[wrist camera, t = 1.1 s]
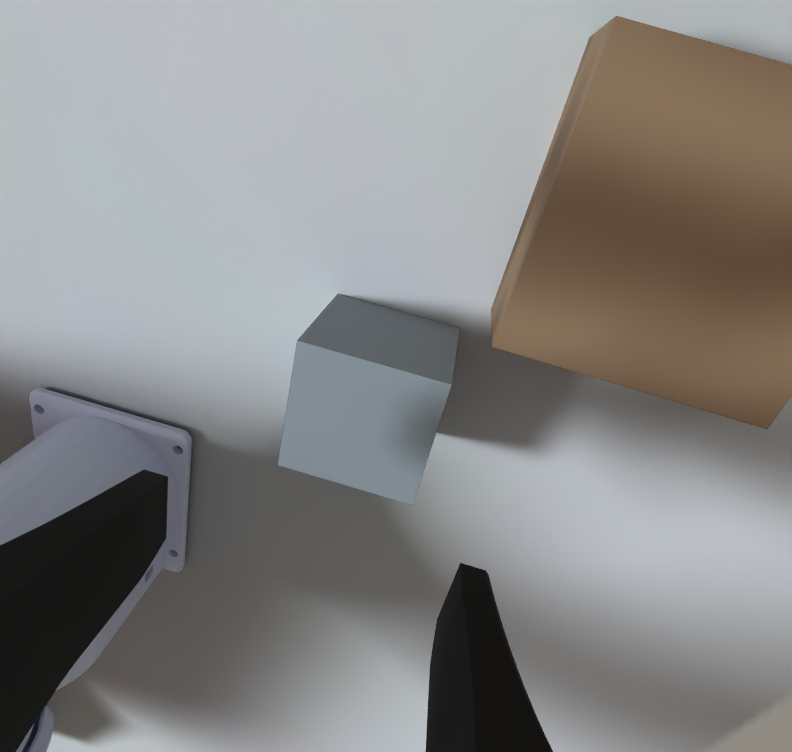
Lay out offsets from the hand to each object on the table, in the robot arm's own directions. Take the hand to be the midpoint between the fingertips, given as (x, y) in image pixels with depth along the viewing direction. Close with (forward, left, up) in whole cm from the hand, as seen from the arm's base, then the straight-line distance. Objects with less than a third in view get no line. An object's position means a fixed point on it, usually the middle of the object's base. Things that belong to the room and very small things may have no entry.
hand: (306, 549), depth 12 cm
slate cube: (0, 0, -10) cm, 10 cm away
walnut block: (+8, -8, -11) cm, 16 cm away
